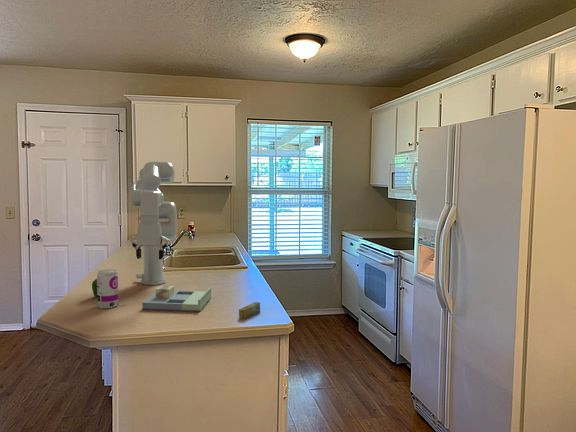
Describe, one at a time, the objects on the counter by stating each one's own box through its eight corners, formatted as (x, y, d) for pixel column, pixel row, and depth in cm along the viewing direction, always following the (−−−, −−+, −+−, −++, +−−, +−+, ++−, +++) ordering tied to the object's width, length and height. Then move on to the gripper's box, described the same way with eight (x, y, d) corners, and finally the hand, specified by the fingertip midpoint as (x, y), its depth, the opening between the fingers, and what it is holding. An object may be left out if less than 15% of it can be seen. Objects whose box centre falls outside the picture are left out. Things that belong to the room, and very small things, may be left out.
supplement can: (122, 304, 186) (122, 270, 184) (108, 310, 178) (108, 274, 177) (107, 302, 188) (106, 268, 187) (93, 307, 181) (92, 272, 179)
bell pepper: (87, 298, 194) (87, 276, 193) (101, 293, 202) (101, 272, 201) (102, 300, 191) (101, 278, 190) (116, 295, 199) (115, 274, 198)
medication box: (255, 311, 181) (255, 301, 181) (260, 311, 180) (260, 302, 180) (238, 319, 171) (238, 309, 171) (244, 320, 170) (244, 310, 169)
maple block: (155, 298, 186) (155, 289, 185) (160, 294, 192) (160, 285, 191) (169, 298, 185) (169, 289, 185) (173, 294, 191) (173, 285, 191)
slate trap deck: (142, 309, 179) (142, 297, 179) (159, 296, 199) (159, 285, 199) (199, 311, 178) (199, 299, 178) (211, 298, 198) (211, 287, 197)
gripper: (126, 219, 185) (127, 259, 186) (166, 220, 184) (166, 260, 185) (133, 218, 192) (134, 256, 193) (172, 219, 191) (172, 257, 193)
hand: (150, 258), depth 189 cm, fingers open, 9 cm apart
